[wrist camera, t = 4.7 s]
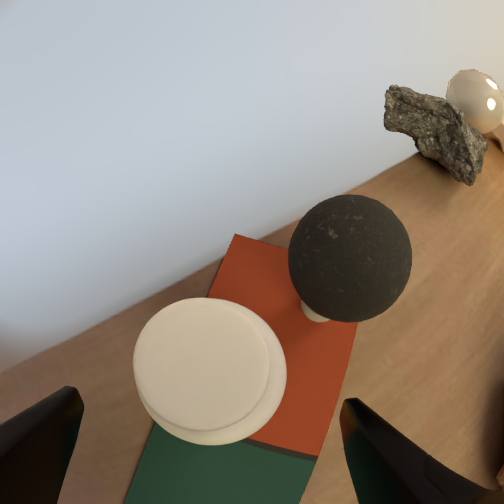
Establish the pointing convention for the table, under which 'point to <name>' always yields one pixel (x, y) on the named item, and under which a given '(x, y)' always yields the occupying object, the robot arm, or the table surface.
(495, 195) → the table surface
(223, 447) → the sorting mat
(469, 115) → the potion bottle
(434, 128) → the rock
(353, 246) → the light bulb
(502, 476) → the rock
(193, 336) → the supplement bottle
